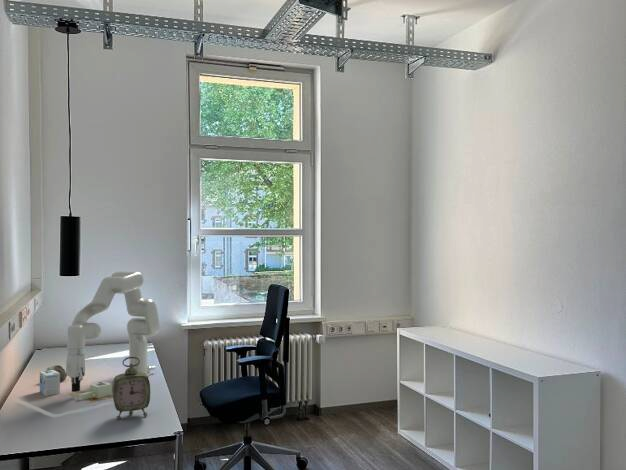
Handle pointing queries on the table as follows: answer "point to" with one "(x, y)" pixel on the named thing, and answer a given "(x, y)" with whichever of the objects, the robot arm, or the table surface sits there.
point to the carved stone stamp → (59, 370)
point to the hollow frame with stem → (97, 391)
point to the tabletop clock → (131, 390)
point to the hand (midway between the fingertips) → (75, 391)
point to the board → (92, 398)
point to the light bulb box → (49, 382)
